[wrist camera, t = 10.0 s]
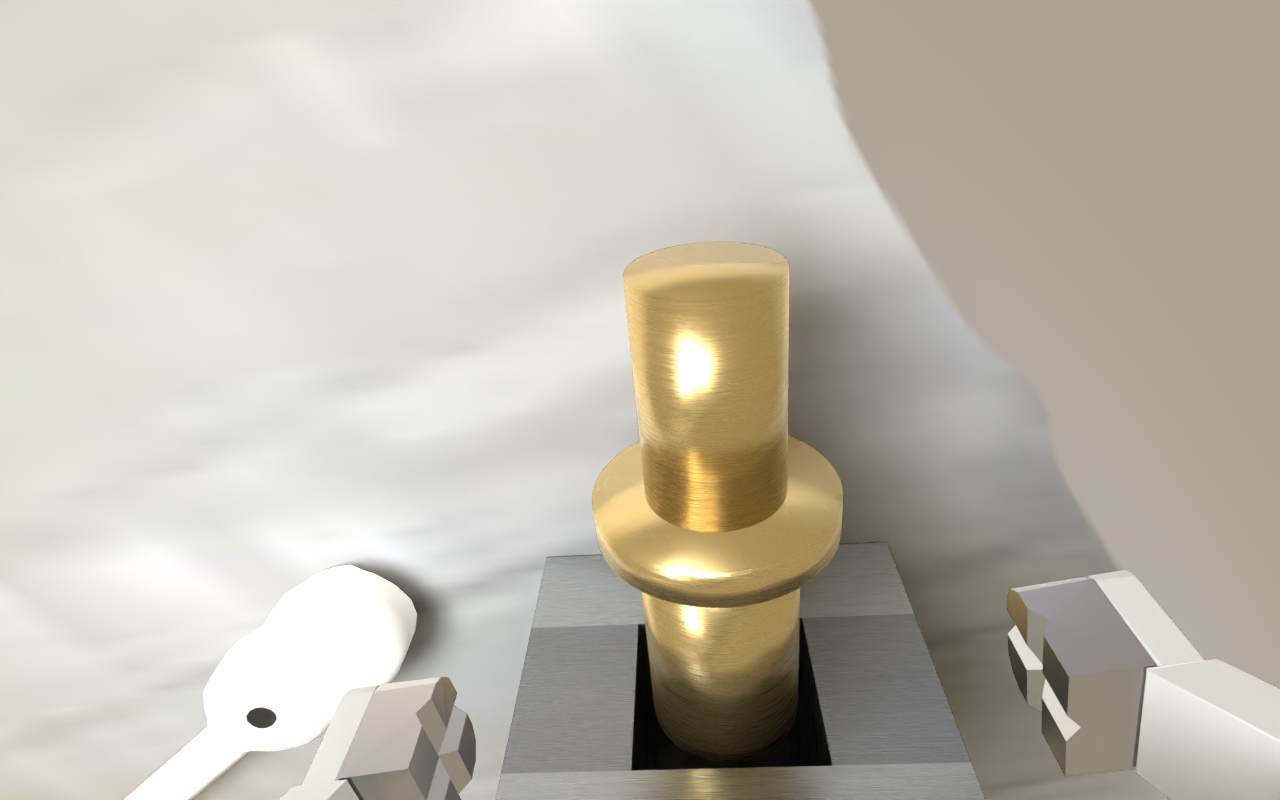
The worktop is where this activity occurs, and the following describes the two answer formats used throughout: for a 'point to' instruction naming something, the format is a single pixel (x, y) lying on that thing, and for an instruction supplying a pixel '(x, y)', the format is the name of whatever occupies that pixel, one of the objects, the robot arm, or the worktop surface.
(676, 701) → the brass collar peg
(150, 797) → the spatula
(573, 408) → the worktop surface
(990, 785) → the worktop surface
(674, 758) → the housing
